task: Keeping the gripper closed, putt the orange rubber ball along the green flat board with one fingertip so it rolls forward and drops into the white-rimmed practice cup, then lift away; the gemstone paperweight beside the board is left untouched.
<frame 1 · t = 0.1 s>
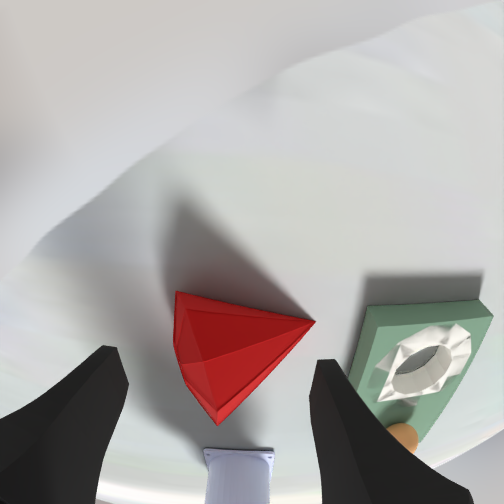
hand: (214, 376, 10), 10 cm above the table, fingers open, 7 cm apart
ball: (398, 442, 22), point 4 cm above the table, touching green flat board
green flat board: (399, 382, 24), on the table
gemstone: (241, 315, 22), on the table
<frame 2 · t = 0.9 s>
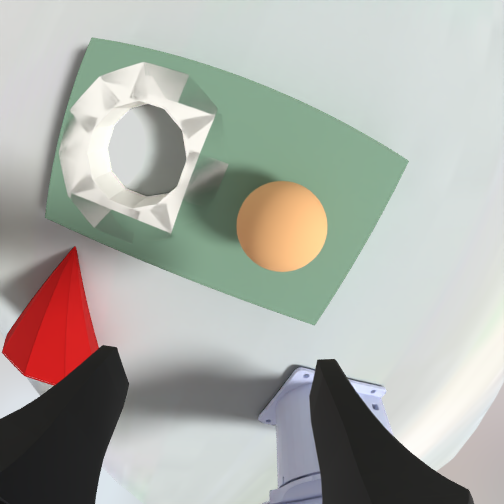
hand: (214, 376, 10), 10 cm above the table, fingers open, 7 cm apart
ball: (282, 226, 14), point 4 cm above the table, touching green flat board
green flat board: (212, 173, 17), on the table
gemstone: (68, 298, 22), on the table
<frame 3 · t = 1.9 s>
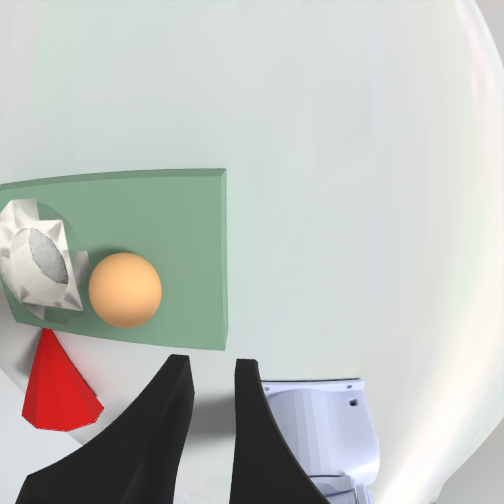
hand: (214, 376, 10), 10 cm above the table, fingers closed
ball: (124, 290, 15), point 4 cm above the table, touching green flat board
green flat board: (98, 252, 19), on the table
gemstone: (62, 361, 25), on the table
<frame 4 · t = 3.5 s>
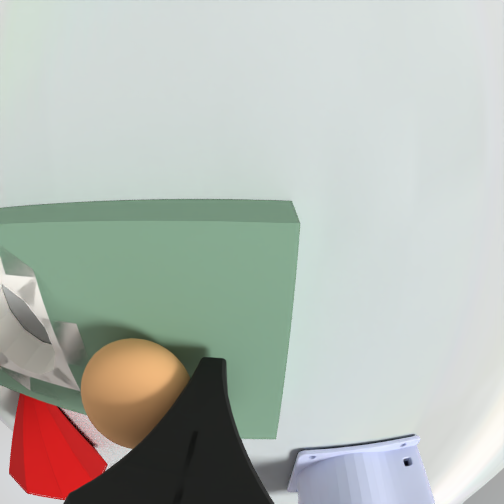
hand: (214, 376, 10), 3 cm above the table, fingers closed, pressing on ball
ball: (137, 394, 9), point 4 cm above the table, touching green flat board, gripper
green flat board: (93, 313, 13), on the table
gemstone: (52, 408, 18), on the table
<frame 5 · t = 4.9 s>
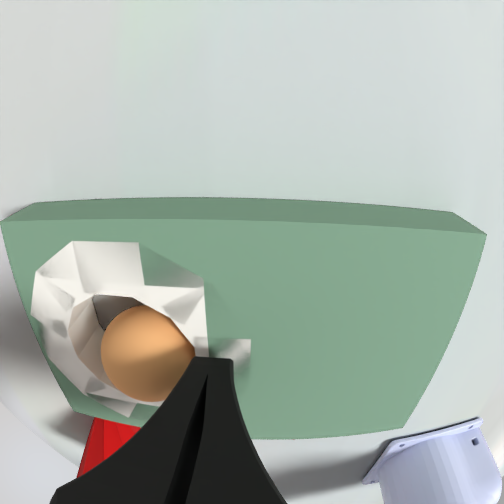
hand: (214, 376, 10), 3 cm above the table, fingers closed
ball: (148, 353, 12), point 2 cm above the table, tilted 150°
green flat board: (234, 323, 13), on the table
gemstone: (124, 427, 18), on the table
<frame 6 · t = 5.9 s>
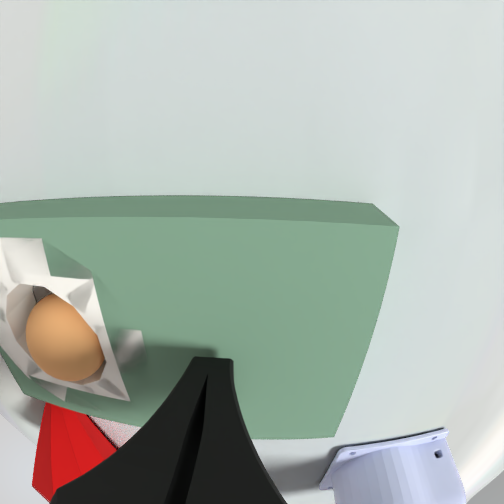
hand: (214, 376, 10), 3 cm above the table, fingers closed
ball: (66, 336, 11), point 2 cm above the table, tilted 148°
green flat board: (147, 317, 13), on the table
gemstone: (77, 415, 18), on the table
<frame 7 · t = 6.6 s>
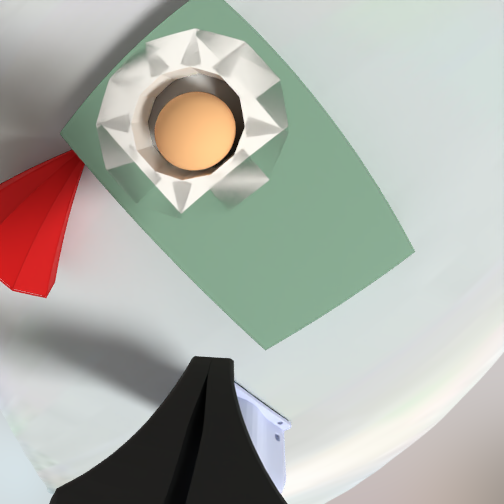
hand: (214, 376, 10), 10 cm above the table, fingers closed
ball: (195, 130, 14), point 2 cm above the table, tilted 147°
green flat board: (242, 175, 17), on the table
gemstone: (49, 193, 18), on the table, touching green flat board
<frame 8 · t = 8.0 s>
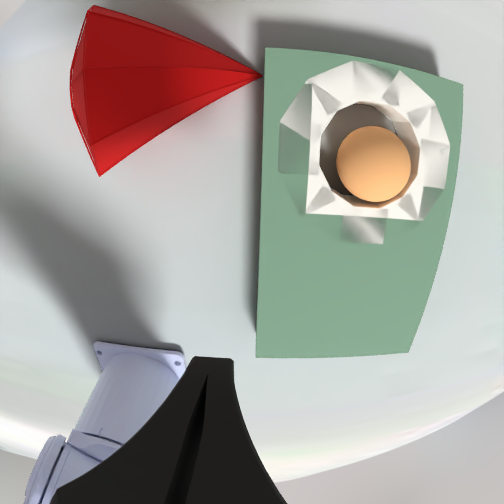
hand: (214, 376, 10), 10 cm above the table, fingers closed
ball: (373, 163, 15), point 2 cm above the table, tilted 143°
green flat board: (351, 215, 18), on the table
gemstone: (169, 74, 15), on the table
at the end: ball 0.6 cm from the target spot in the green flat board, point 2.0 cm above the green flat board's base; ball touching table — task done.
